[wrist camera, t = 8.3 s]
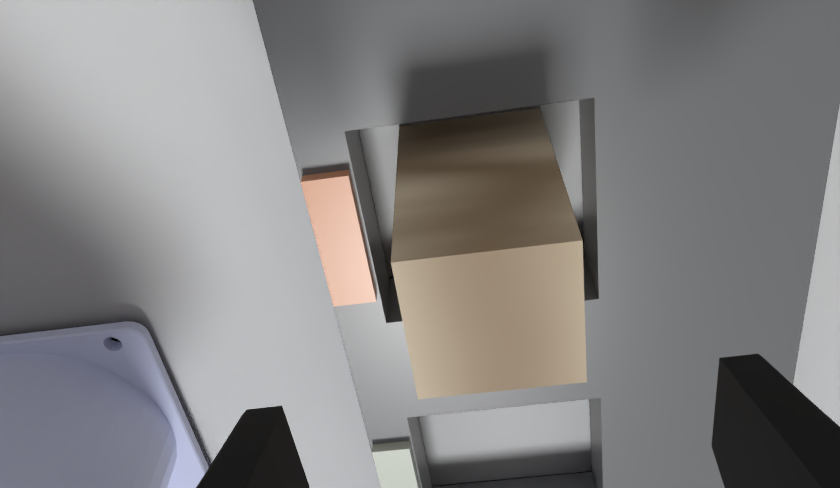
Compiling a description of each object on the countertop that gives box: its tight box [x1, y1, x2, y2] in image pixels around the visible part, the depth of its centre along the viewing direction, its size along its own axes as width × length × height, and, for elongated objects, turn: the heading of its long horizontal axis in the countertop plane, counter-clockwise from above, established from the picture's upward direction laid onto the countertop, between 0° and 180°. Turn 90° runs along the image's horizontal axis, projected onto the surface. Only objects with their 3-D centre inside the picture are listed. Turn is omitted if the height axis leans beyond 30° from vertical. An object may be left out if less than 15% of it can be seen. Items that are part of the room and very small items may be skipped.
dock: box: [253, 0, 840, 488], centre depth 21 cm, size 12×20×2 cm, turn 8°
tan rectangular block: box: [391, 108, 587, 399], centre depth 17 cm, size 4×4×6 cm
